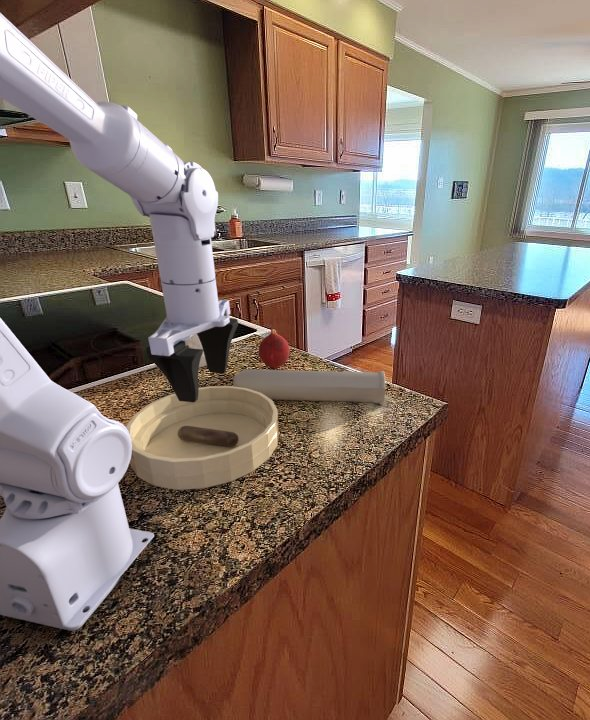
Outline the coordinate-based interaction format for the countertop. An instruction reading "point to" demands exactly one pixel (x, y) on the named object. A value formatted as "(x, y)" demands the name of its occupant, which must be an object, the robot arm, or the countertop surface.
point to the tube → (314, 385)
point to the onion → (274, 350)
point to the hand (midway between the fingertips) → (204, 385)
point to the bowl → (197, 460)
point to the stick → (208, 436)
